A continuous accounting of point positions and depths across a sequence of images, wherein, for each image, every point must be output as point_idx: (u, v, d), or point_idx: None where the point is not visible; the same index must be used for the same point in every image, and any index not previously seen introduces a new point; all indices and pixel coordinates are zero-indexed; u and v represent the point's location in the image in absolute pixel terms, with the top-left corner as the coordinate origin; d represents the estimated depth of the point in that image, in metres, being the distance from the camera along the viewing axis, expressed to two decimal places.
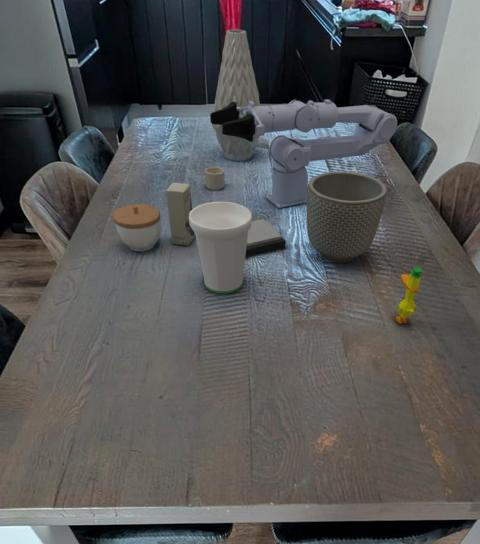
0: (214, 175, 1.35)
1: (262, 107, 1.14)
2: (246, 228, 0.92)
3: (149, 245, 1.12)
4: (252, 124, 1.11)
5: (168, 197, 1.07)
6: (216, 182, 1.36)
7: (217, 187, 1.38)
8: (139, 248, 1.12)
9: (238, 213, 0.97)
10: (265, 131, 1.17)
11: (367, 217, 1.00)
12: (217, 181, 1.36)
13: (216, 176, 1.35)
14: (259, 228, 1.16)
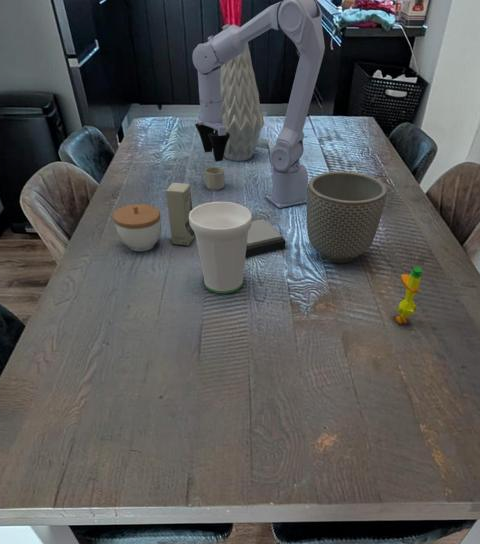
0: (214, 175, 1.35)
1: (201, 110, 1.24)
2: (246, 228, 0.92)
3: (149, 245, 1.12)
4: (217, 137, 1.25)
5: (168, 197, 1.07)
6: (216, 182, 1.36)
7: (217, 187, 1.38)
8: (139, 248, 1.12)
9: (238, 213, 0.97)
10: (220, 107, 1.24)
11: (367, 217, 1.00)
12: (217, 181, 1.36)
13: (216, 176, 1.35)
14: (259, 228, 1.16)
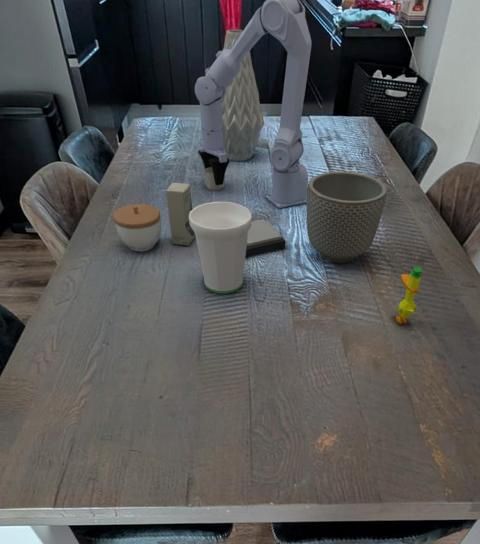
0: None
1: (203, 137, 1.29)
2: (246, 228, 0.92)
3: (149, 245, 1.12)
4: (217, 163, 1.30)
5: (168, 197, 1.07)
6: None
7: (217, 187, 1.37)
8: (139, 248, 1.12)
9: (238, 213, 0.97)
10: (222, 135, 1.29)
11: (367, 217, 1.00)
12: None
13: None
14: (259, 228, 1.16)
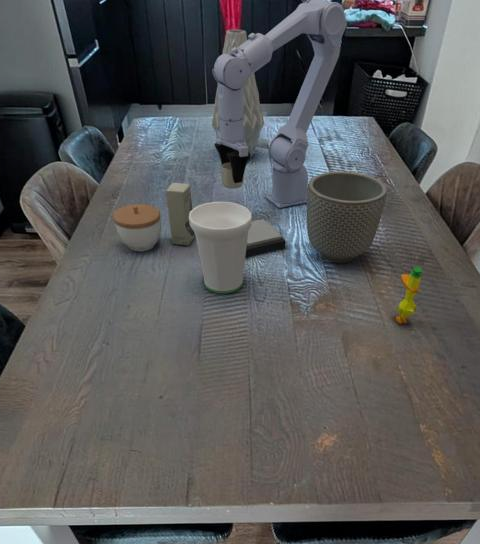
0: None
1: (221, 128, 1.13)
2: (246, 228, 0.92)
3: (149, 245, 1.12)
4: (236, 157, 1.14)
5: (168, 197, 1.07)
6: None
7: (235, 185, 1.21)
8: (139, 248, 1.12)
9: (238, 213, 0.97)
10: (242, 126, 1.13)
11: (367, 217, 1.00)
12: None
13: None
14: (259, 228, 1.16)
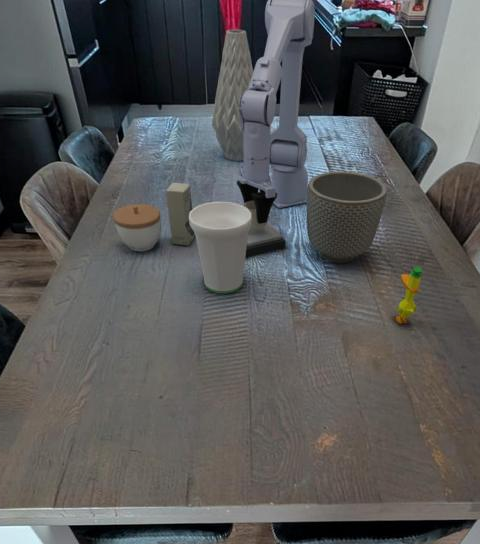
0: None
1: (246, 167, 1.03)
2: (246, 228, 0.92)
3: (149, 245, 1.12)
4: (262, 198, 1.05)
5: (168, 197, 1.07)
6: None
7: (259, 226, 1.12)
8: (139, 248, 1.12)
9: (238, 213, 0.97)
10: (268, 164, 1.04)
11: (367, 217, 1.00)
12: None
13: None
14: None
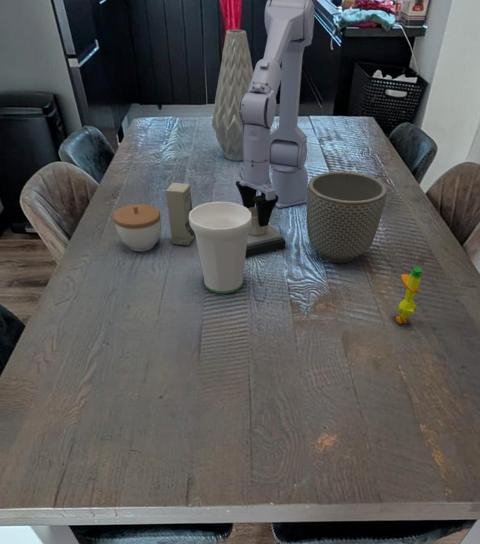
0: (256, 219, 1.10)
1: (246, 169, 1.04)
2: (246, 228, 0.92)
3: (149, 245, 1.12)
4: (264, 201, 1.05)
5: (168, 197, 1.07)
6: (258, 226, 1.12)
7: (259, 232, 1.13)
8: (139, 248, 1.12)
9: (238, 213, 0.97)
10: (268, 166, 1.04)
11: (367, 217, 1.00)
12: None
13: None
14: None
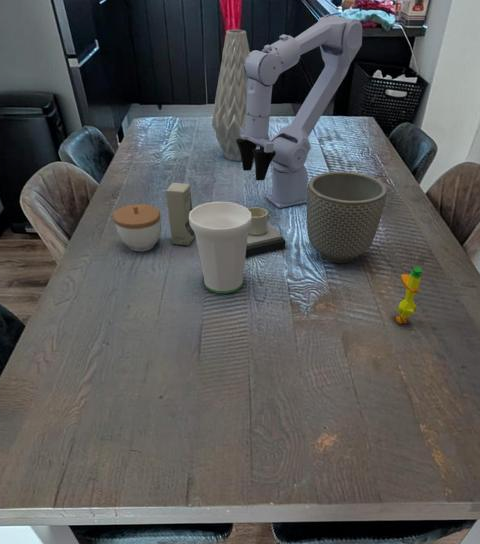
0: (256, 219, 1.10)
1: (247, 123, 1.13)
2: (246, 228, 0.92)
3: (149, 245, 1.12)
4: (262, 154, 1.14)
5: (168, 197, 1.07)
6: (258, 226, 1.12)
7: (259, 232, 1.13)
8: (139, 248, 1.12)
9: (238, 213, 0.97)
10: (268, 123, 1.14)
11: (367, 217, 1.00)
12: (259, 225, 1.12)
13: (258, 220, 1.11)
14: None
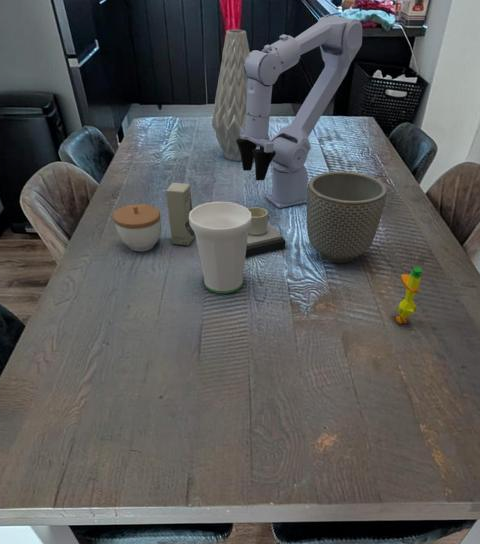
0: (256, 219, 1.10)
1: (247, 123, 1.13)
2: (246, 228, 0.92)
3: (149, 245, 1.12)
4: (262, 154, 1.14)
5: (168, 197, 1.07)
6: (258, 226, 1.12)
7: (259, 232, 1.13)
8: (139, 248, 1.12)
9: (238, 213, 0.97)
10: (268, 123, 1.14)
11: (367, 217, 1.00)
12: (259, 225, 1.12)
13: (258, 220, 1.11)
14: None
